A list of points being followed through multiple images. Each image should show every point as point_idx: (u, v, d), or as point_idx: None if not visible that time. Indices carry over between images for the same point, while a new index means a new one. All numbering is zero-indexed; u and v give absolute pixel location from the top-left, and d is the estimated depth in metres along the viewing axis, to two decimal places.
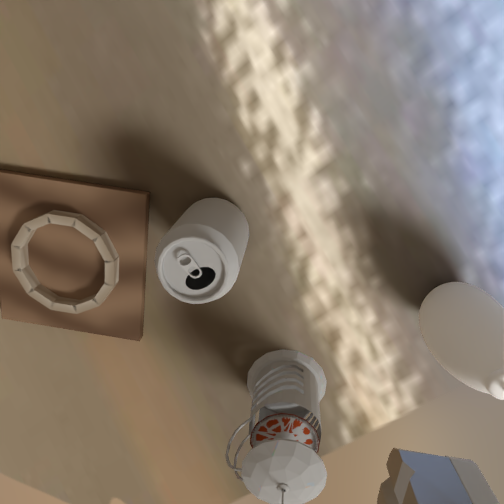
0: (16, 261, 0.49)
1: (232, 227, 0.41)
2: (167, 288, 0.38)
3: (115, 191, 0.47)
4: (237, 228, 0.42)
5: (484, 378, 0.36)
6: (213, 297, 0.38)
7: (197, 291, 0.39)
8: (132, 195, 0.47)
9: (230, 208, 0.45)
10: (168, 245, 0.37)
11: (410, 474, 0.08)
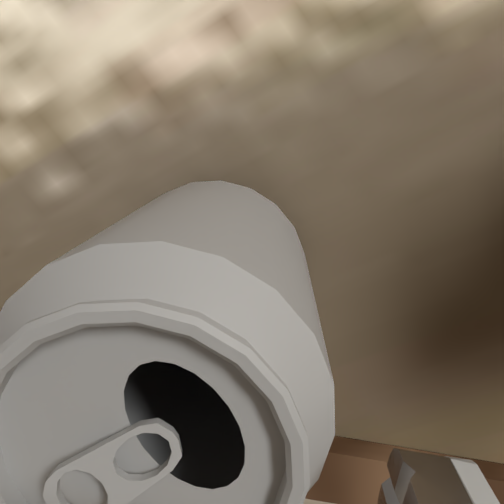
0: None
1: None
2: None
3: None
4: (119, 221, 0.13)
5: None
6: (271, 390, 0.07)
7: (253, 446, 0.08)
8: None
9: None
10: None
11: (410, 474, 0.08)
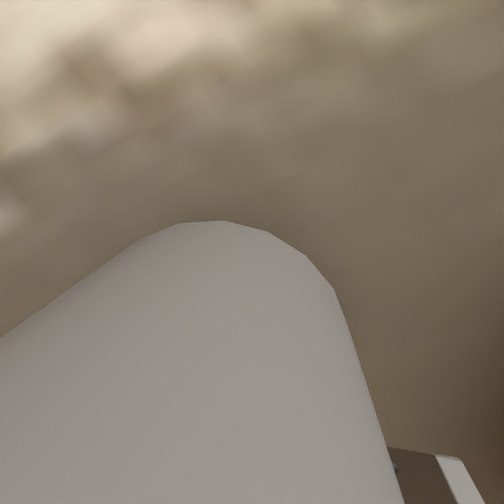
0: None
1: None
2: None
3: None
4: None
5: None
6: None
7: None
8: None
9: None
10: None
11: (395, 471, 0.08)
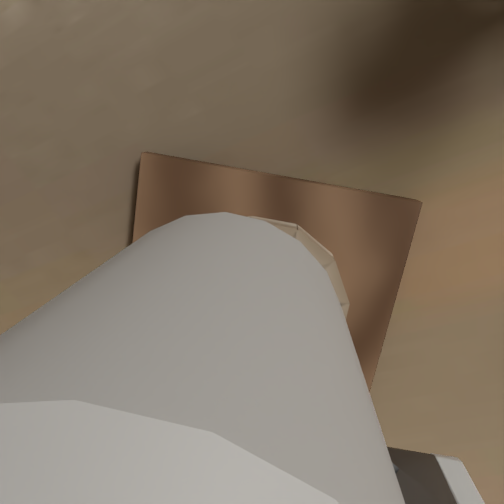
0: None
1: None
2: None
3: (139, 204, 0.29)
4: (64, 291, 0.08)
5: None
6: None
7: None
8: (143, 177, 0.28)
9: None
10: None
11: (395, 471, 0.08)
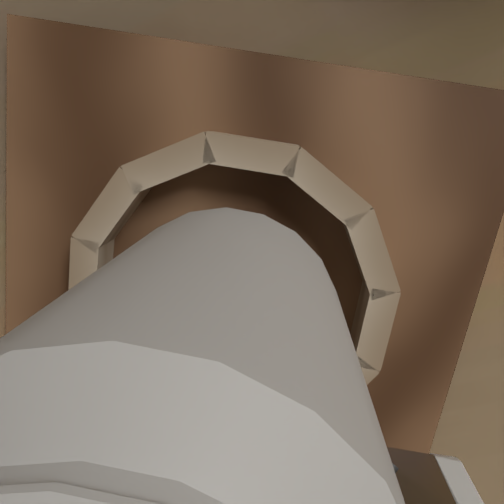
0: None
1: None
2: None
3: (12, 116, 0.16)
4: (86, 278, 0.09)
5: None
6: None
7: None
8: (14, 62, 0.15)
9: None
10: None
11: None
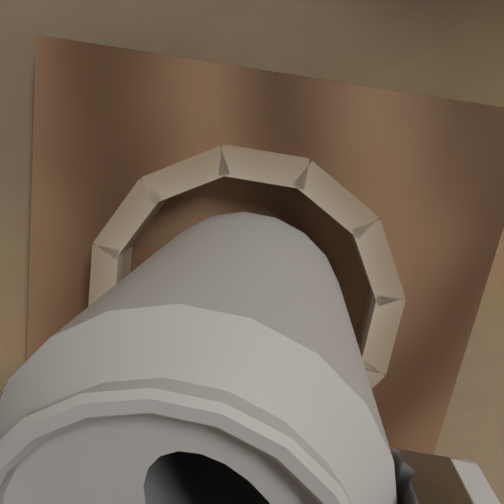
0: None
1: None
2: None
3: (38, 130, 0.17)
4: (135, 269, 0.12)
5: None
6: (321, 489, 0.06)
7: None
8: (41, 80, 0.16)
9: None
10: None
11: (411, 474, 0.08)
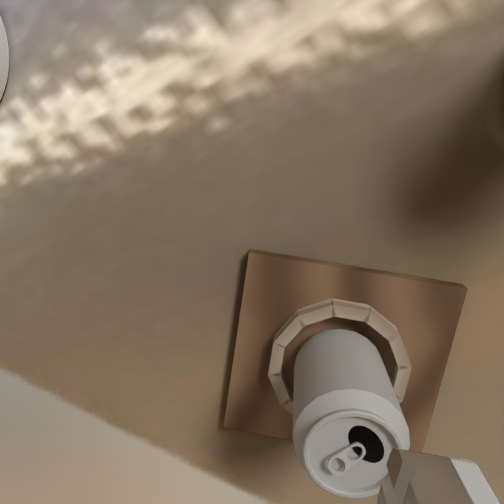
0: None
1: (309, 376, 0.32)
2: None
3: (245, 290, 0.38)
4: (314, 365, 0.32)
5: None
6: (393, 432, 0.27)
7: (386, 448, 0.27)
8: (249, 270, 0.38)
9: (301, 358, 0.36)
10: (317, 482, 0.28)
11: (410, 474, 0.08)
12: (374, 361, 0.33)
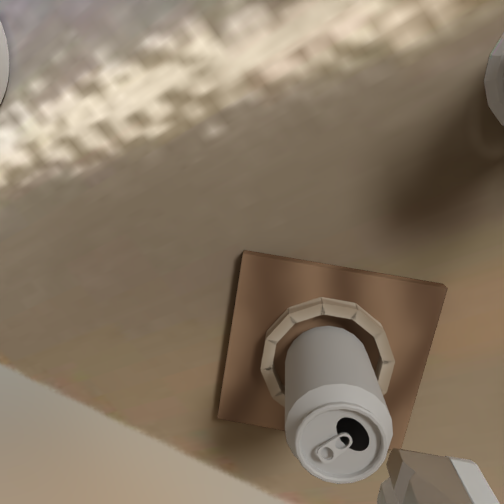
0: None
1: (300, 371, 0.34)
2: (366, 474, 0.30)
3: (239, 288, 0.40)
4: (305, 360, 0.35)
5: None
6: (377, 423, 0.29)
7: (371, 438, 0.30)
8: (243, 270, 0.39)
9: (291, 353, 0.38)
10: (307, 469, 0.30)
11: (410, 474, 0.08)
12: (360, 357, 0.35)
